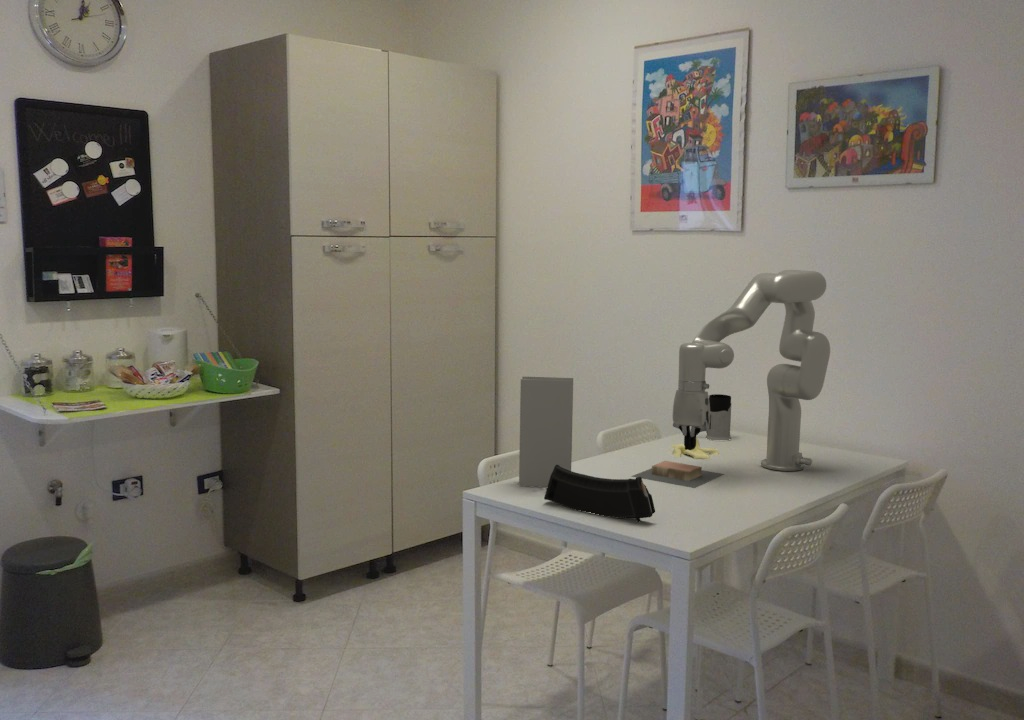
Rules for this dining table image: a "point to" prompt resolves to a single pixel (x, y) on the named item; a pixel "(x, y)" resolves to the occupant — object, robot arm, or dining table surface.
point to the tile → (676, 470)
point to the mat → (693, 483)
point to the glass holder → (719, 417)
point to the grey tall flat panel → (544, 428)
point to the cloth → (694, 451)
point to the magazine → (600, 494)
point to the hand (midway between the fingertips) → (689, 449)
